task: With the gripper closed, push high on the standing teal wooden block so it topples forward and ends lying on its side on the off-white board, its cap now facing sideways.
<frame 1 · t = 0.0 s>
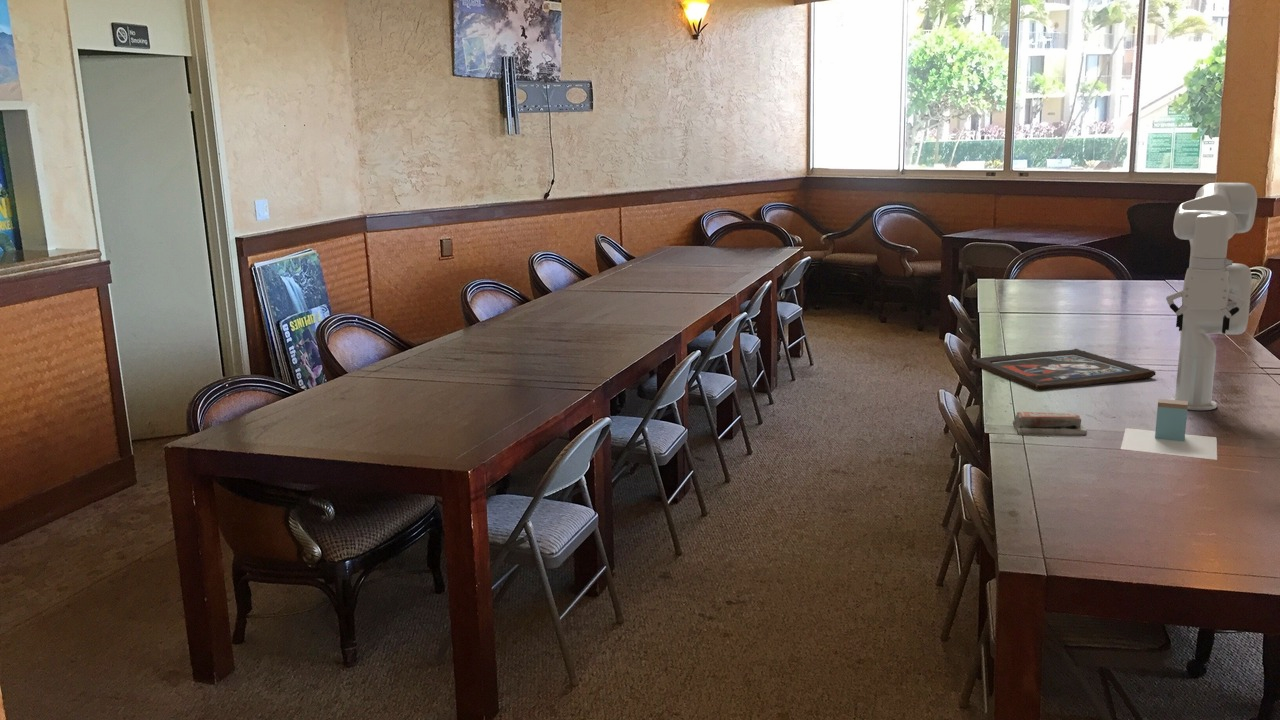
hand: (1201, 331, 259), 31 cm above the table, fingers open, 9 cm apart
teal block: (1169, 437, 275), resting on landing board
packaged product: (1048, 431, 287), on the table
religious icon: (1060, 373, 349), on the table
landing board: (1169, 444, 270), on the table
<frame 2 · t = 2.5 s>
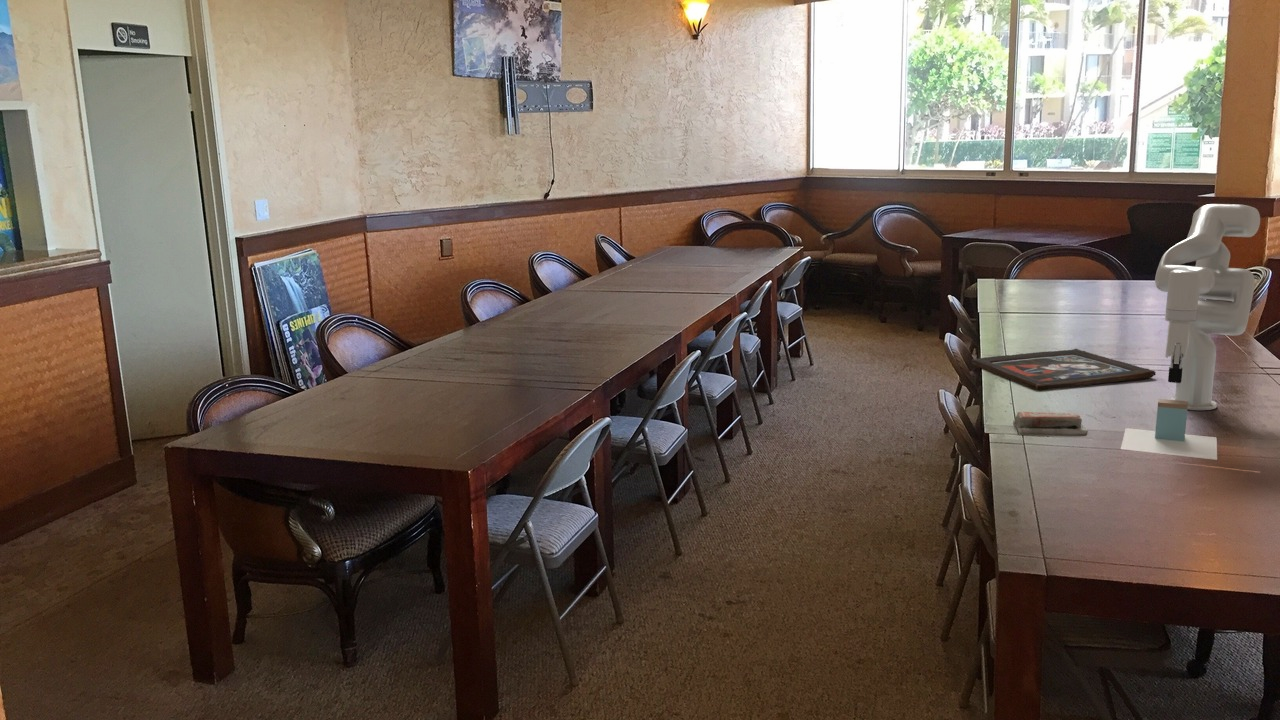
hand: (1174, 381, 280), 14 cm above the table, fingers closed
nothing on the table moved.
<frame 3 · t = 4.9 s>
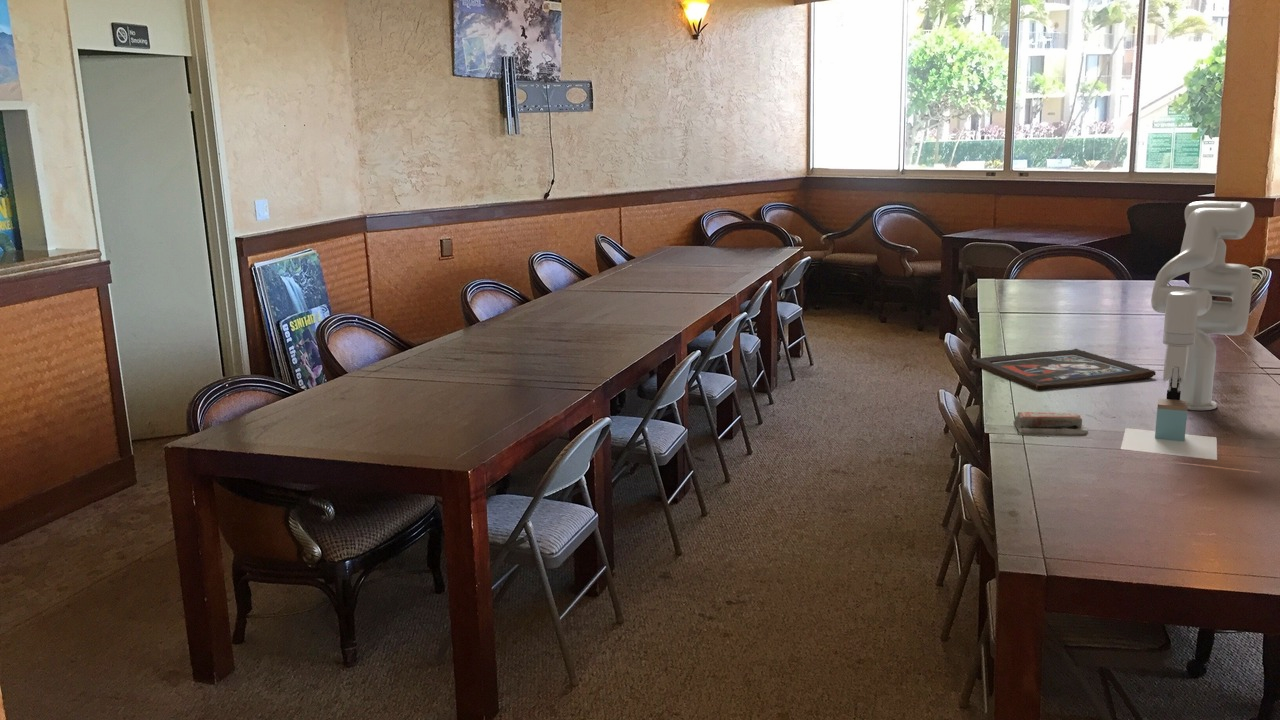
hand: (1172, 405, 275), 9 cm above the table, fingers closed
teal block: (1169, 436, 275), point 1 cm above the table, tilted 9°, touching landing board
everything else where it was.
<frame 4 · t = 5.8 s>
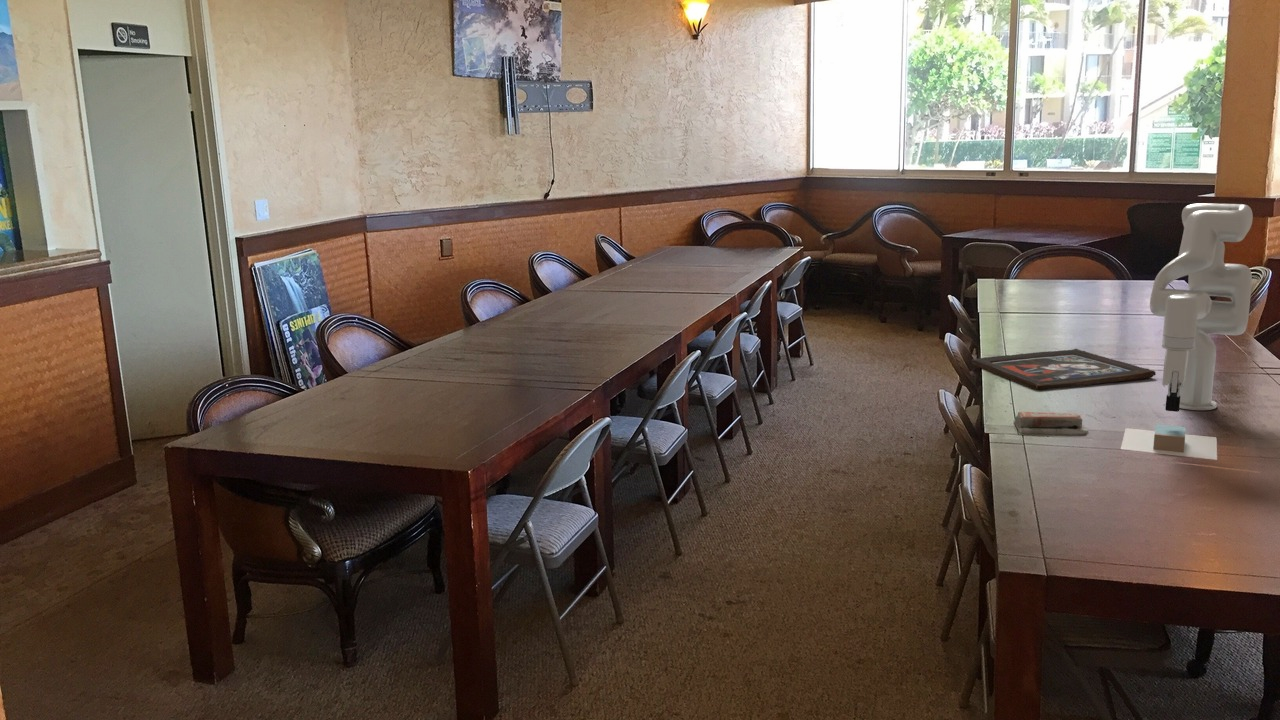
hand: (1172, 410, 271), 9 cm above the table, fingers closed
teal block: (1170, 432, 272), point 2 cm above the table, tilted 90°, touching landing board
everything else where it was.
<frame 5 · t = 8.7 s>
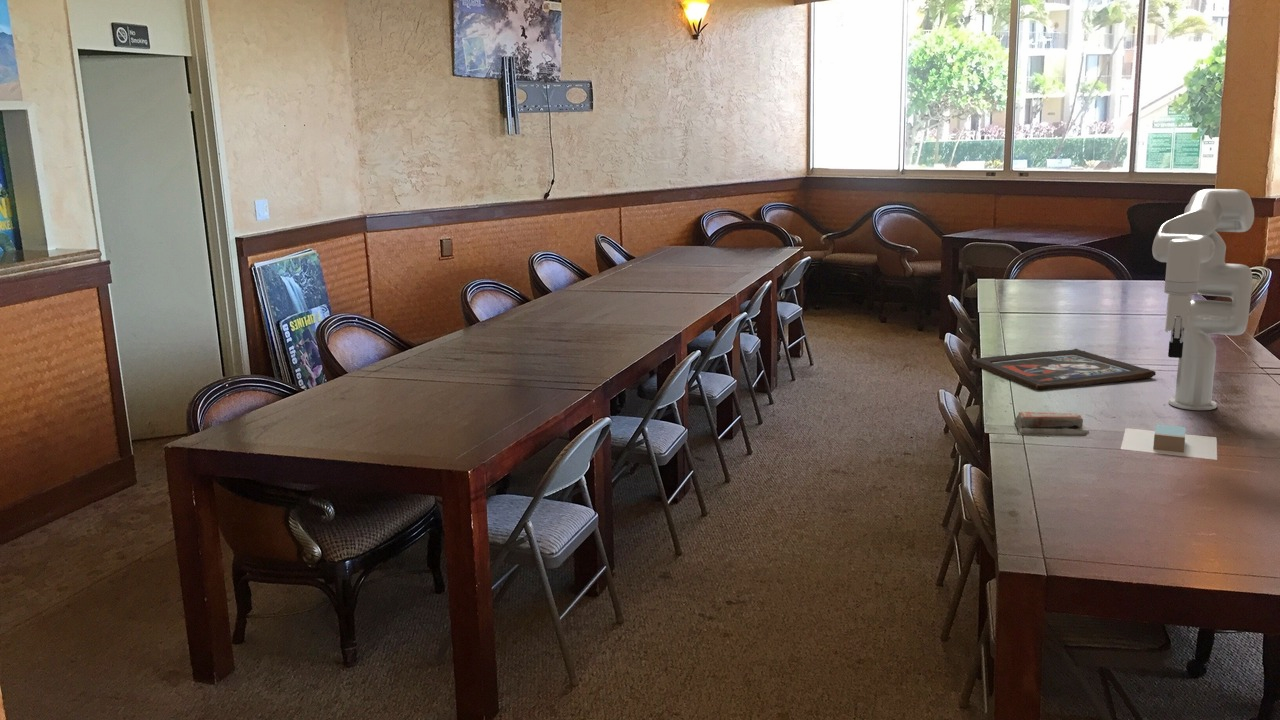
hand: (1174, 356, 267), 23 cm above the table, fingers closed
nothing on the table moved.
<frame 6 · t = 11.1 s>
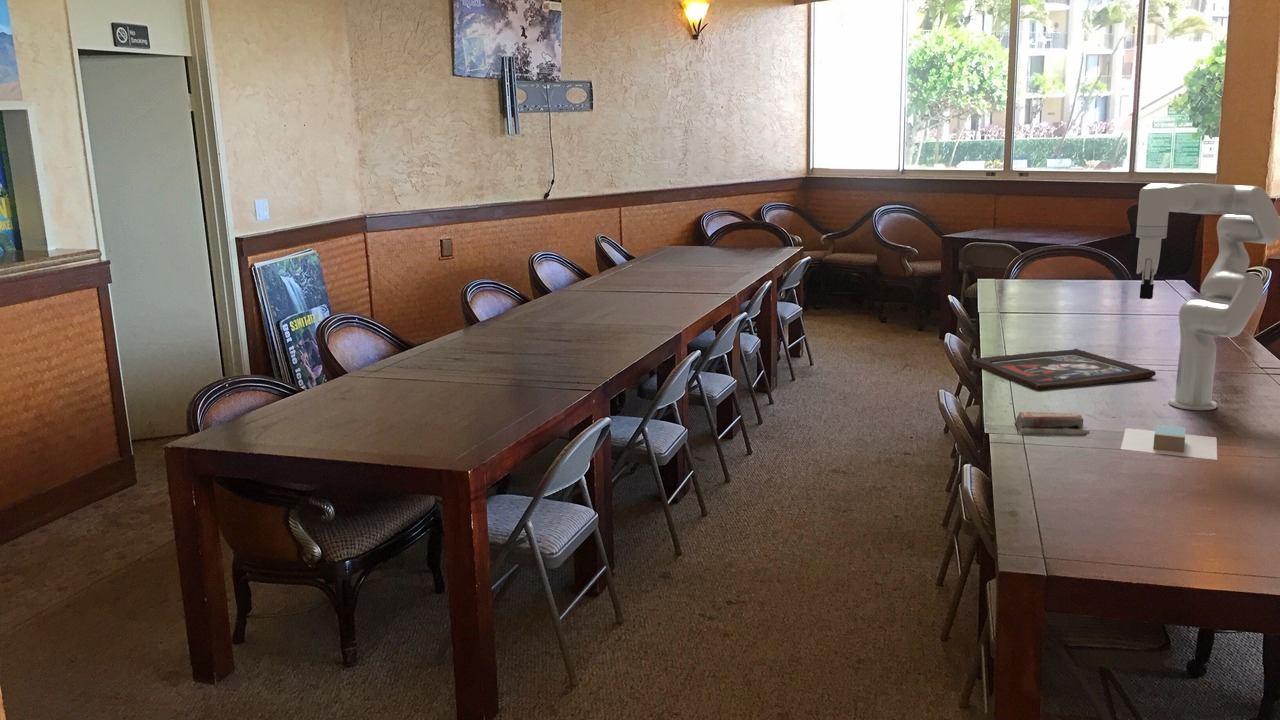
hand: (1146, 298, 285), 35 cm above the table, fingers closed
nothing on the table moved.
at the end: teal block tilted 90°; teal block touching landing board; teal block inside the target area (3.0 cm from its centre), point 2.4 cm above the table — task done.
